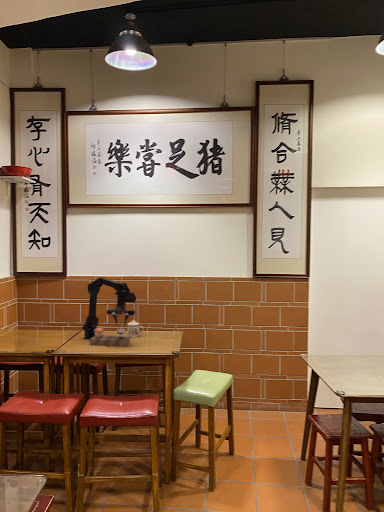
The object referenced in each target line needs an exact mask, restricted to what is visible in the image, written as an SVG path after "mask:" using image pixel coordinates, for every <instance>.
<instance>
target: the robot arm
mask: <svg viewBox="0 0 384 512" xmlns="http://www.w3.org/2000/svg"><path fill="white" fill-rule="evenodd" d="M103 285H104V286H107V287H110V288H113V290H114V291H116V292H114V295H115V296H116V306H115V308H109V309H107V310H106V315H111V316H112V317H113V319H114V322H115V324H116V325H117V326H118V323H119V318H118V315H122V314H125V316H124V317H125V318H124V326H126V325H127V324H128V320H129V318H130V316H134V315H136V314H137V311H136V309H129V310H127V307H126V305H127V303H130V304H134V303H135V302H136V300H137V297H136V294H135V292H133V291H131V290H130V288H129V287H128V284H127V283H126V282H122V281H121V282H120V281H114V280H111V279H109V278H105V277H103V276H101V277H98V278H96V279H95V280H93V281H91V282H89V283H88V284H87V292H88V294H89V301H88V302H89V305H88V315H87V317H86V318H85V322H84V323H85V324H83V326H82V327H81V328H82V331H84V334H83V335H84V337H83V339H84V340H90V338H92V337H94V336H95V335H96V332H95V329H96V328H98V325H99V317H97V301H98V294H99V293H100V291H101V287H103Z"/></svg>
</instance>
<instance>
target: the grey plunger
mask: <svg viewBox="0 0 384 512" xmlns="http://www.w3.org/2000/svg"><path fill="white" fill-rule="evenodd" d="M125 333H126V329H125V328H116V334H118V336H119V339H123V336H124V334H125Z"/></svg>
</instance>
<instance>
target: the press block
mask: <svg viewBox="0 0 384 512" xmlns="http://www.w3.org/2000/svg"><path fill="white" fill-rule="evenodd" d="M129 342H131V337H130V336H127V335H123V339H119V335H105V334H101V338H98V334H95V336H94V337H92V338H90V339H89V346H103V347H121V348H123V347H125V348H126V346H127V345H129V344H130V343H129ZM128 343H129V344H128Z"/></svg>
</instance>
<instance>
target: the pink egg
mask: <svg viewBox="0 0 384 512" xmlns="http://www.w3.org/2000/svg"><path fill="white" fill-rule="evenodd" d="M102 333H104V328H103V327H97V328H96V329H95V334H97V335H98V338H101V335H102Z"/></svg>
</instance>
